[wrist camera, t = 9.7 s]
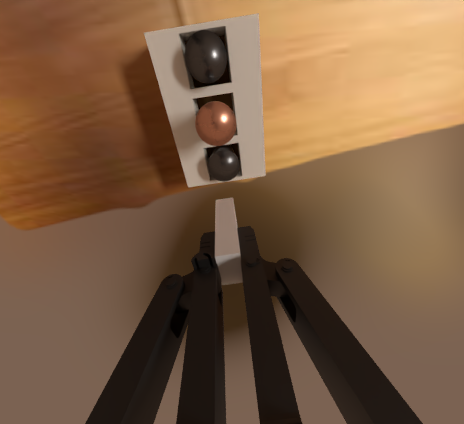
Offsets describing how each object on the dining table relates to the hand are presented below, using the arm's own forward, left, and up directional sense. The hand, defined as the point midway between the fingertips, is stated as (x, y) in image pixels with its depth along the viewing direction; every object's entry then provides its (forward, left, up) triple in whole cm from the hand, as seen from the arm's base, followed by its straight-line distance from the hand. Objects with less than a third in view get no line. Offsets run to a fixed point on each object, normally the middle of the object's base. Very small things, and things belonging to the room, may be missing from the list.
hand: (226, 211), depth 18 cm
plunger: (0, 0, -17) cm, 17 cm away
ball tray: (0, +6, -18) cm, 19 cm away
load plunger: (0, +6, -14) cm, 15 cm away
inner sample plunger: (0, +12, -17) cm, 21 cm away
